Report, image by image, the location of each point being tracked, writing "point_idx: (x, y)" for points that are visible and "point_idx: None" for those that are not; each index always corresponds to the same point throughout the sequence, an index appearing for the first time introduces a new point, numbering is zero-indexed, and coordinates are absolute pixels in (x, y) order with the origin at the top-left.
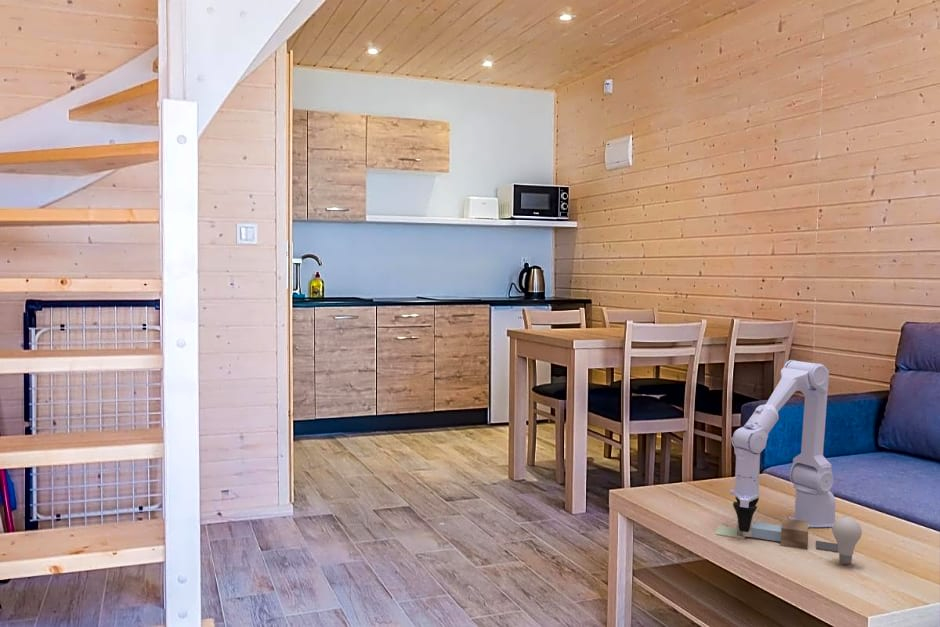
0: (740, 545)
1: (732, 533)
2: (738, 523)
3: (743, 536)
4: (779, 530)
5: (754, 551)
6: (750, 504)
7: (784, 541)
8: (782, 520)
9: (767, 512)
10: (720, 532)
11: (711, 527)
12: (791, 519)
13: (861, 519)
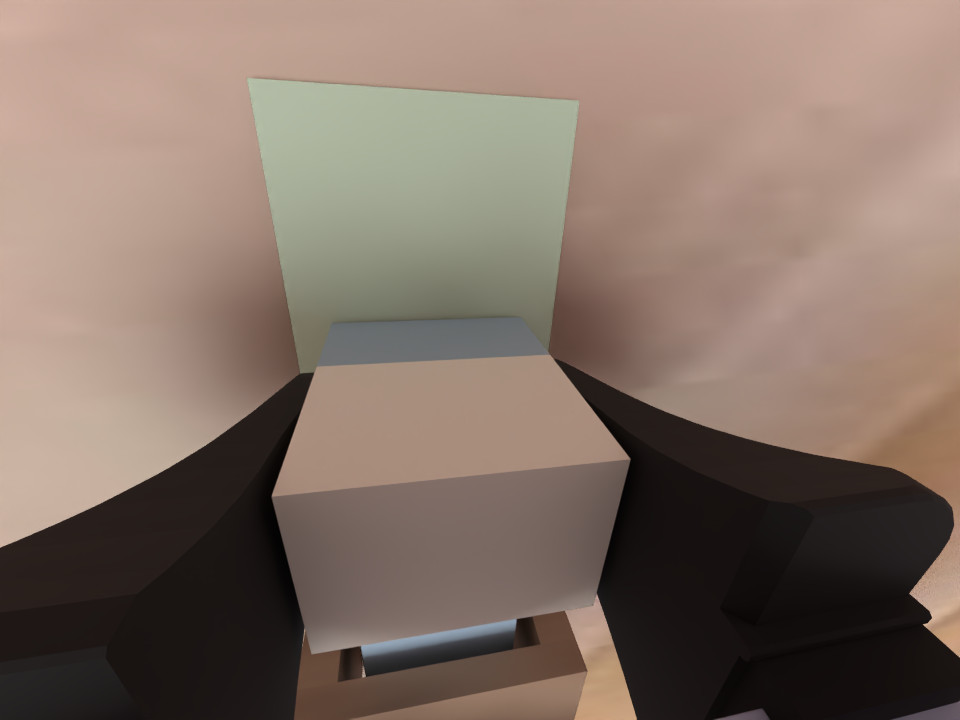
0: (72, 375)
1: (370, 276)
2: (263, 404)
3: None
4: (394, 642)
5: (4, 489)
6: (633, 618)
7: None
8: (513, 687)
9: (953, 427)
10: (331, 146)
11: (514, 14)
12: (566, 709)
13: None
